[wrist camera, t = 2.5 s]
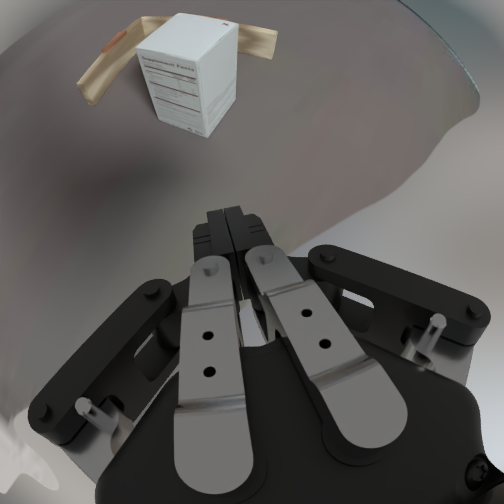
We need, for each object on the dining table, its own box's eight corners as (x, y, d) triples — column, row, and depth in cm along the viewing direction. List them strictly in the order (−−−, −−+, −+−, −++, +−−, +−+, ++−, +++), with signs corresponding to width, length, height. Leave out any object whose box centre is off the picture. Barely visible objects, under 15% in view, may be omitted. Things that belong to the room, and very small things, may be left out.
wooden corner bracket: (89, 105, 31) (74, 81, 25) (144, 37, 34) (138, 14, 28) (237, 132, 31) (238, 102, 25) (273, 55, 34) (278, 28, 29)
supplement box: (188, 84, 32) (179, 10, 20) (237, 100, 32) (241, 22, 20) (156, 121, 31) (132, 46, 18) (207, 140, 30) (198, 60, 18)
